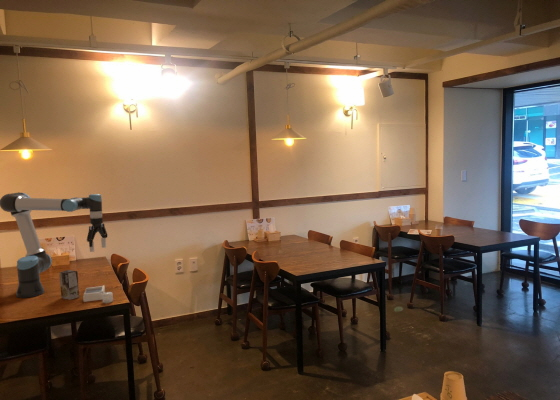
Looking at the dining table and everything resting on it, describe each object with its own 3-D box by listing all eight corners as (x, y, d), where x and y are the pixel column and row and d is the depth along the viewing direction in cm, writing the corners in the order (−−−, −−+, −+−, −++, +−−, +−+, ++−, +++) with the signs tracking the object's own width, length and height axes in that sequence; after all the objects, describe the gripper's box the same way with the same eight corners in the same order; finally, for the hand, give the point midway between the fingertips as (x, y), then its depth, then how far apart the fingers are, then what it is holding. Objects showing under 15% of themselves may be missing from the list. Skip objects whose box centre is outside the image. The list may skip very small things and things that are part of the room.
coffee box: (79, 297, 262) (77, 270, 261) (70, 300, 256) (68, 273, 255) (70, 295, 267) (68, 269, 265) (60, 298, 261) (58, 271, 260)
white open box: (83, 301, 252) (82, 293, 252) (85, 295, 265) (85, 287, 265) (103, 299, 256) (103, 291, 255) (105, 292, 269) (104, 285, 268)
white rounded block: (102, 303, 247) (101, 295, 247) (102, 301, 253) (102, 292, 252) (112, 302, 249) (112, 294, 249) (113, 299, 254) (112, 291, 254)
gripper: (90, 220, 270) (92, 253, 272) (111, 215, 295) (113, 245, 297) (79, 220, 272) (81, 253, 273) (101, 215, 296) (103, 245, 298)
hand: (98, 249), depth 285 cm, fingers open, 13 cm apart
